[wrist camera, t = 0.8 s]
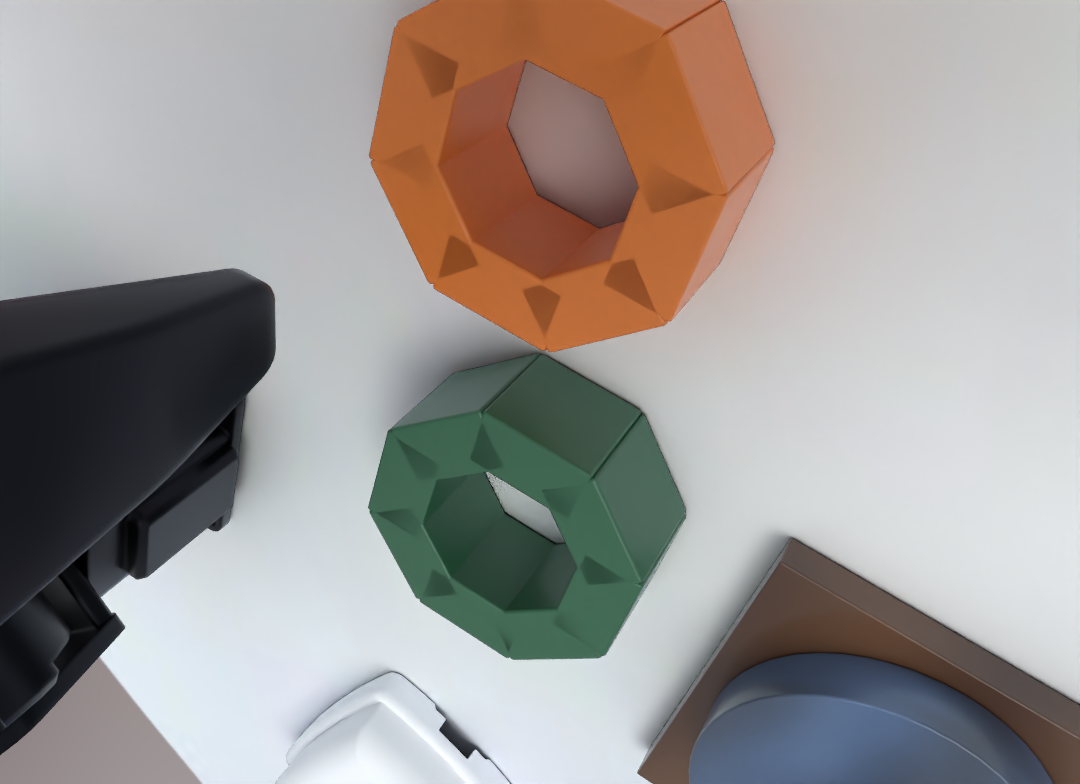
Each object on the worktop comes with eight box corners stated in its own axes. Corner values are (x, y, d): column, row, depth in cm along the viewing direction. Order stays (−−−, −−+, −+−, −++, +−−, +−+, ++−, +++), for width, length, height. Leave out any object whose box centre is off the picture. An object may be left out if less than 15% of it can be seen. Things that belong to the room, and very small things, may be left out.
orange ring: (423, 197, 25) (350, 243, 23) (498, -110, 20) (415, -92, 18) (683, 341, 23) (632, 404, 21) (824, 44, 19) (779, 85, 17)
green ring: (413, 499, 30) (353, 560, 28) (470, 310, 26) (404, 364, 24) (622, 630, 29) (577, 705, 27) (721, 454, 24) (676, 527, 22)
